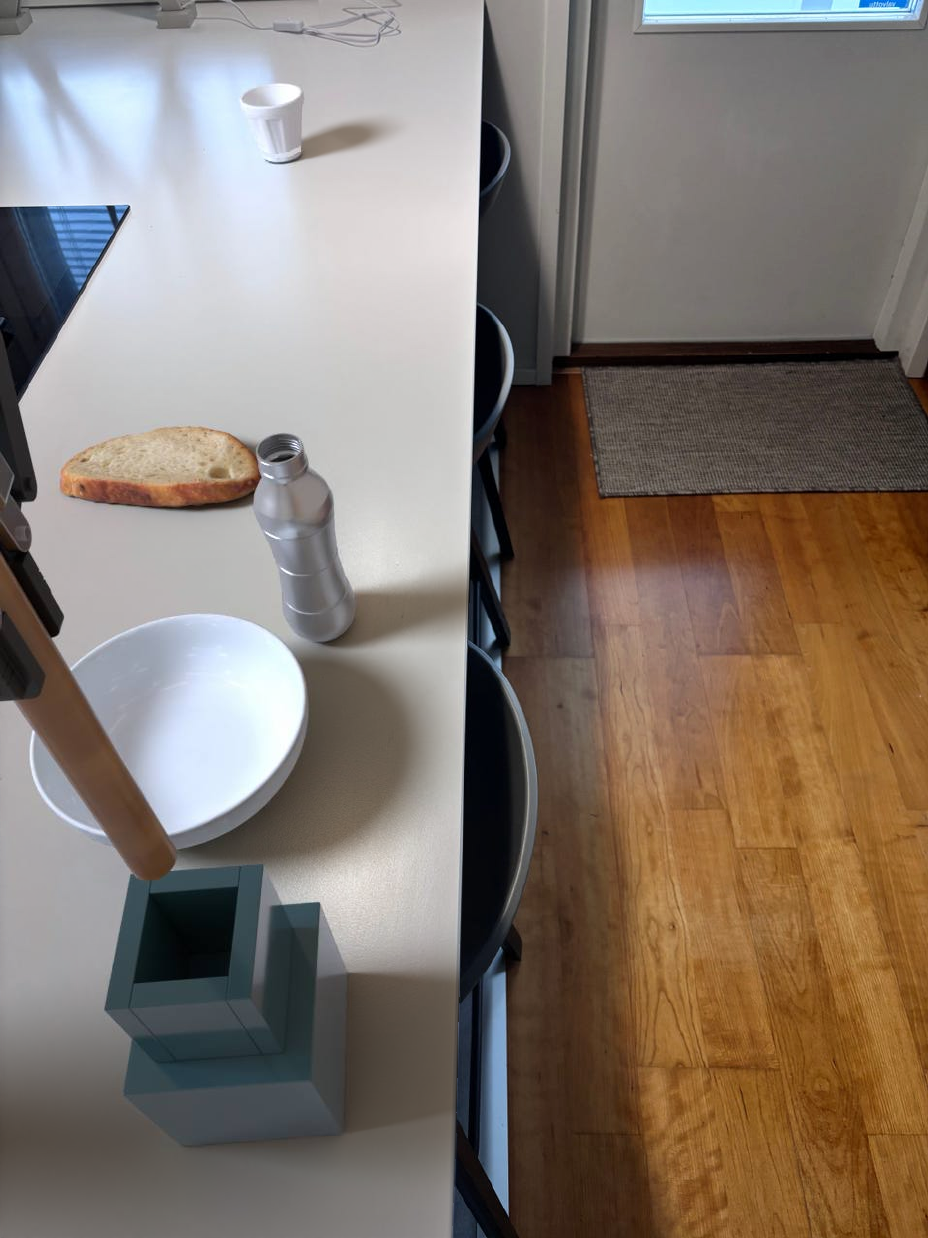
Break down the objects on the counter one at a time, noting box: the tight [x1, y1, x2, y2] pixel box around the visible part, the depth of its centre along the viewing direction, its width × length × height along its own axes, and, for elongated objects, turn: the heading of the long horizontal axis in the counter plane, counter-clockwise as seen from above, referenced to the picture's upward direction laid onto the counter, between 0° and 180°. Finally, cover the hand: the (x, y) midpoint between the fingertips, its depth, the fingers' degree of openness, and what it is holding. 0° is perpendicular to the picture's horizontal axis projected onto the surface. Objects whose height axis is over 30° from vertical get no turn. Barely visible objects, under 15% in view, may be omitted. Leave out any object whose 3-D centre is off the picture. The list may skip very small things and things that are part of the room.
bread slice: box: [59, 425, 262, 508], centre depth 99 cm, size 18×18×4 cm
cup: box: [238, 82, 305, 165], centre depth 151 cm, size 10×10×9 cm
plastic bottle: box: [252, 432, 357, 643], centre depth 78 cm, size 6×7×20 cm
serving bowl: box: [29, 613, 309, 851], centre depth 74 cm, size 21×21×7 cm
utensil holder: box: [103, 863, 349, 1147], centre depth 54 cm, size 10×10×19 cm
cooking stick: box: [0, 552, 178, 881], centre depth 38 cm, size 2×2×20 cm
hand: (25, 660), depth 34 cm, fingers closed on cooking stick, 2 cm apart
